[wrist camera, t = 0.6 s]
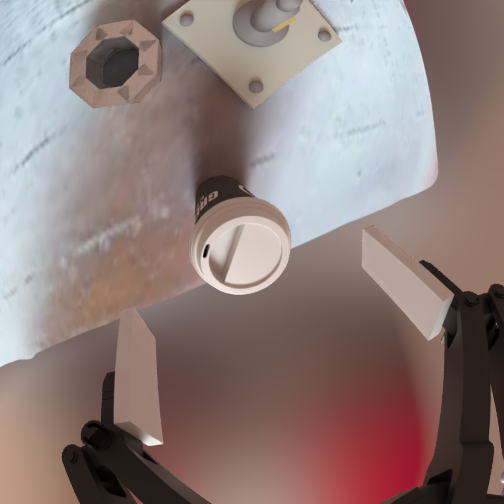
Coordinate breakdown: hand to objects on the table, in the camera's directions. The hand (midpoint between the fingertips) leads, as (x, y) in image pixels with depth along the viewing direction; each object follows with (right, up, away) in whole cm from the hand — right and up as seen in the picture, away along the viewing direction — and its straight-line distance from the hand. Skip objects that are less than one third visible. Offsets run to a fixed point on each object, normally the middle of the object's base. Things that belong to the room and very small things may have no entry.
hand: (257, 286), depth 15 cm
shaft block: (0, +29, +11) cm, 31 cm away
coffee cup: (-5, +9, +22) cm, 24 cm away
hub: (-15, +23, +10) cm, 29 cm away
